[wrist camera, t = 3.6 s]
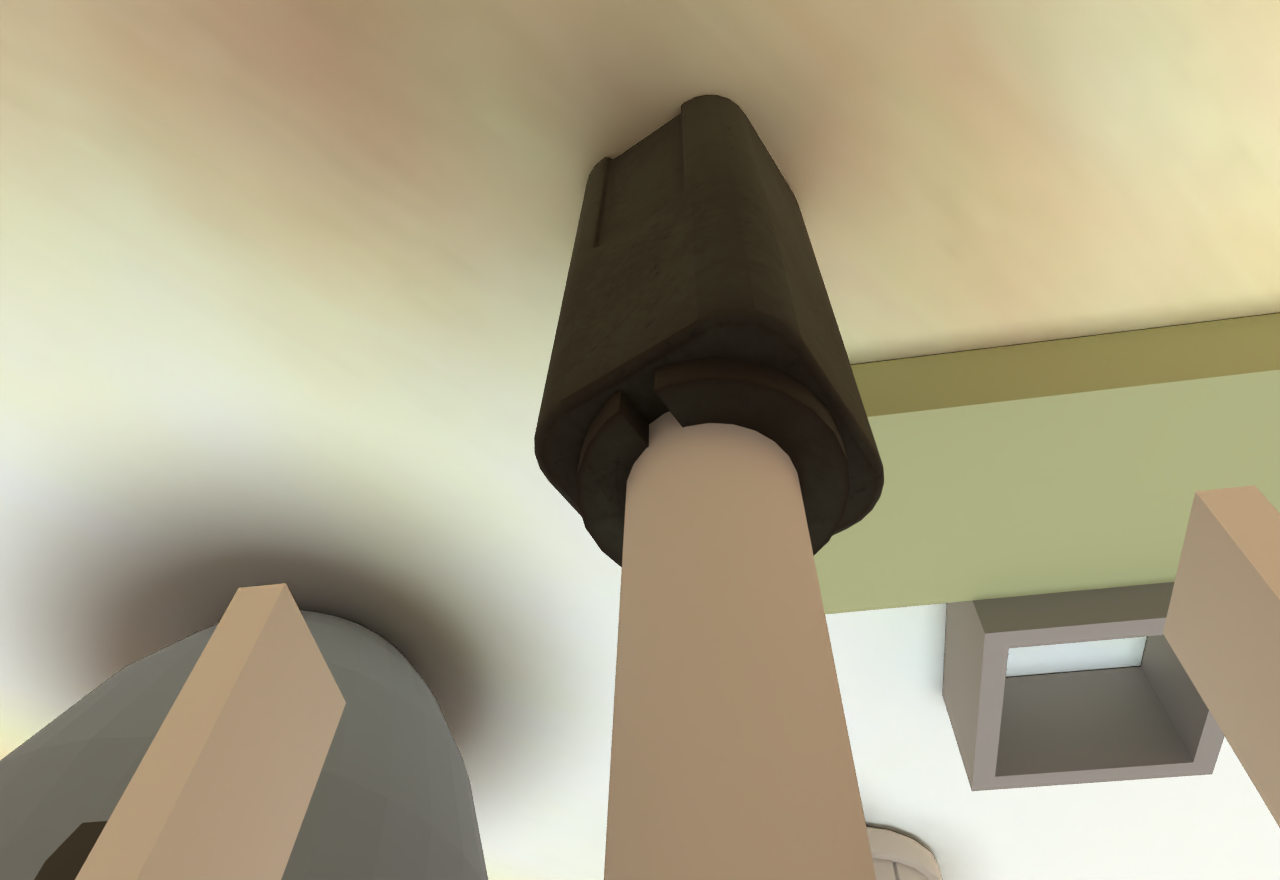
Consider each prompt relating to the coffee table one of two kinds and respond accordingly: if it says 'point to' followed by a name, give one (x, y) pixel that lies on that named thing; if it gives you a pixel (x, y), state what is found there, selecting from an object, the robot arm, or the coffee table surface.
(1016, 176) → the coffee table surface
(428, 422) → the coffee table surface
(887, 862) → the cup
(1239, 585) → the robot arm
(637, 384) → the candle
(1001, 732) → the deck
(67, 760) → the vase
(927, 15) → the coffee table surface
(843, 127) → the coffee table surface
